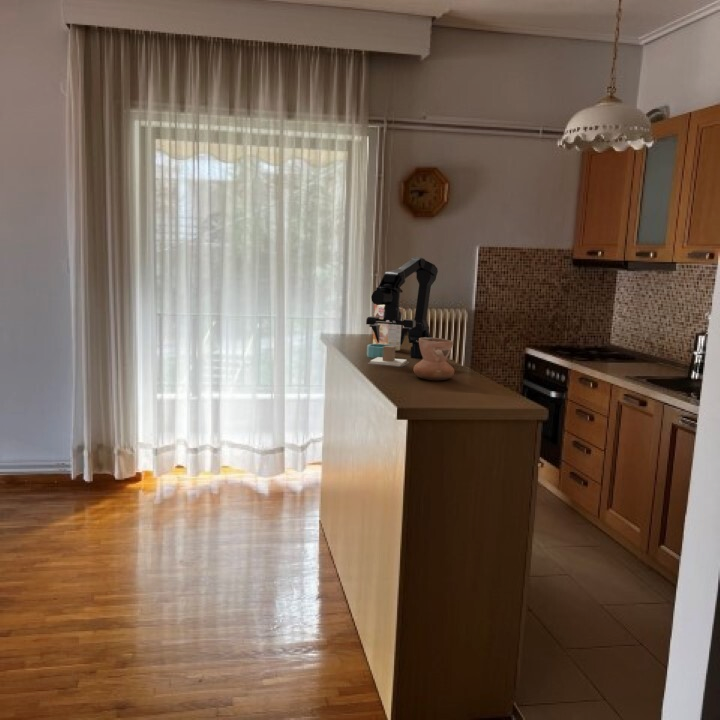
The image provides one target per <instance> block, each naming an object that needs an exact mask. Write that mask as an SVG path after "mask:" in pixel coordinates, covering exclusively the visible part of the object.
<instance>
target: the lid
mask: <svg viewBox="0 0 720 720" xmlns="http://www.w3.org/2000/svg"><path fill="white" fill-rule="evenodd" d="M395 348H396V346H384V347H383V357H377V358H372V359H370V360H369V362H370V364H369V365H375V364H380V365H379V366H385V365H391V366H390V367H396V366H401V365H403V364H404V363H406V362H408V361H407V359H404V358H396V350H395Z"/></svg>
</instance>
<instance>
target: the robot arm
mask: <svg viewBox="0 0 720 720" xmlns="http://www.w3.org/2000/svg"><path fill="white" fill-rule="evenodd" d="M438 271H439V270H438V267H437V266H436V265H435V263H434V264H433V263H432V262H430V261H428V260H426V259H425V258H423V257H414V256H413V257H412V258H411V259H410V260H409V261H406V263H404V264H403V265H402V266H400V267H399V268H396V269H390V270H388V271H386V272H384V274H383V276H382V278H381V280H380V282H379V285H378V286H377V287H376V289H375V290H374V291H373V292H372V294H371V295H370V296H371V302H372V304H374V306H375V305H385V307H384V318H383V319H379V317H374V315H373V316H368V317H367V318H366V321H365V324H366V325H368V327H370V328H371V329H372V331H374V333H375V336H376V339H377V342H378V343H379V340H380V335H379V328H380V325H378V323H380V324H393V325H401V326H403V327H401V340H400V346H402V345H403V342H404V341H405V339H406V335H407V337H408V344H411V345H412V346H410V355H409V356H410V359H418V360H419V359H420V360H422V359H423V357H422V354H421V351H420V346H419V338H424V337H427V338H430V337H432V336H431V334H430V325H429V324H428V322H427V317H428V309H429V302H430V295H431V287H432V285H433V284H434V282H436V280H437V279H436V278H437V275H438ZM414 273H415V274H416V280H417V282H418V291H417V298H416V305H415V312H414V319H413V318H405V319H403V320H402V321H401V315H402V316H403V313H402V314H401V312H400V310H399V307H400V296H401V293H403V290H402V288H401V287H402V286H403V285H404V284H405V283H406V279H407V278H408V277H409V276H411V275H413V274H414ZM386 320H389V322H386ZM395 321H396V322H395ZM393 322H395V323H393Z"/></svg>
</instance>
